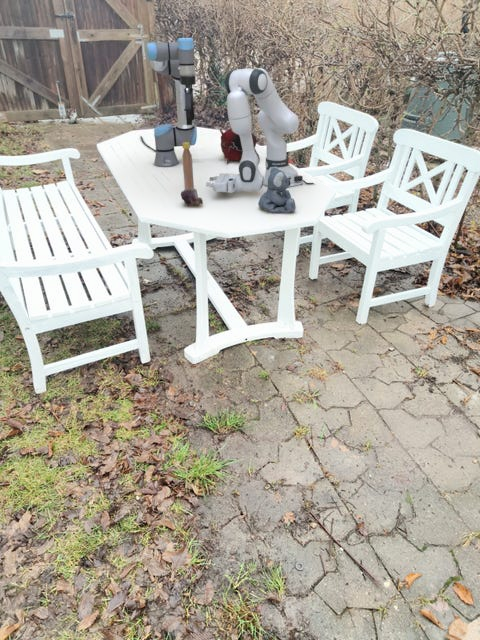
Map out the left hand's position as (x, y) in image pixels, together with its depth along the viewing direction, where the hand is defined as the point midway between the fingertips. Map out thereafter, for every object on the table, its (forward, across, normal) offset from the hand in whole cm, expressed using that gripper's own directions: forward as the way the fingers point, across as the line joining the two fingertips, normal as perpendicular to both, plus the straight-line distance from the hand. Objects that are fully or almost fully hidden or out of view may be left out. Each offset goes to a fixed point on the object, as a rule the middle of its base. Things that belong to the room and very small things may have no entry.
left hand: (190, 122), depth 230 cm
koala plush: (+36, +28, +43) cm, 63 cm away
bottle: (+36, +3, -3) cm, 36 cm away
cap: (+10, +3, -3) cm, 11 cm away
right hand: (+29, +5, +8) cm, 30 cm away
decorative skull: (+35, -64, +24) cm, 77 cm away
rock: (+36, +22, 0) cm, 42 cm away
